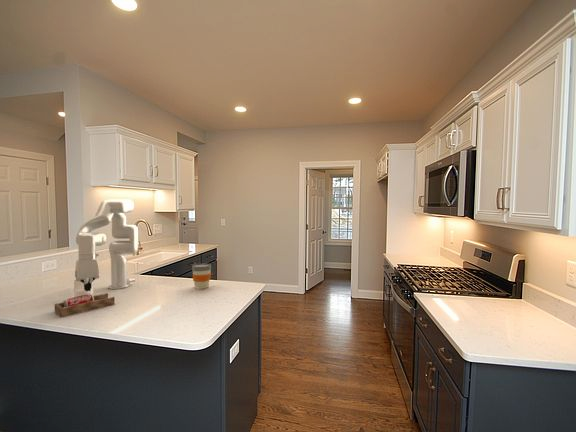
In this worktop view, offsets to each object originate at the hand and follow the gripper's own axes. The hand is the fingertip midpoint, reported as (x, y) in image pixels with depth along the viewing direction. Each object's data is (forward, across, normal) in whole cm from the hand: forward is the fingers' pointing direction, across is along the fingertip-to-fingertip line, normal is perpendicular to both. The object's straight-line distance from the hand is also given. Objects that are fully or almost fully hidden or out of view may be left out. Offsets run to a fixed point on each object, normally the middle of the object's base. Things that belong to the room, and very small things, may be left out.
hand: (87, 290), depth 151 cm
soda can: (+6, -2, -1) cm, 6 cm away
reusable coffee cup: (+9, -62, +13) cm, 64 cm away
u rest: (+9, +1, 0) cm, 9 cm away
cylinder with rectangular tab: (+9, -3, -20) cm, 22 cm away
